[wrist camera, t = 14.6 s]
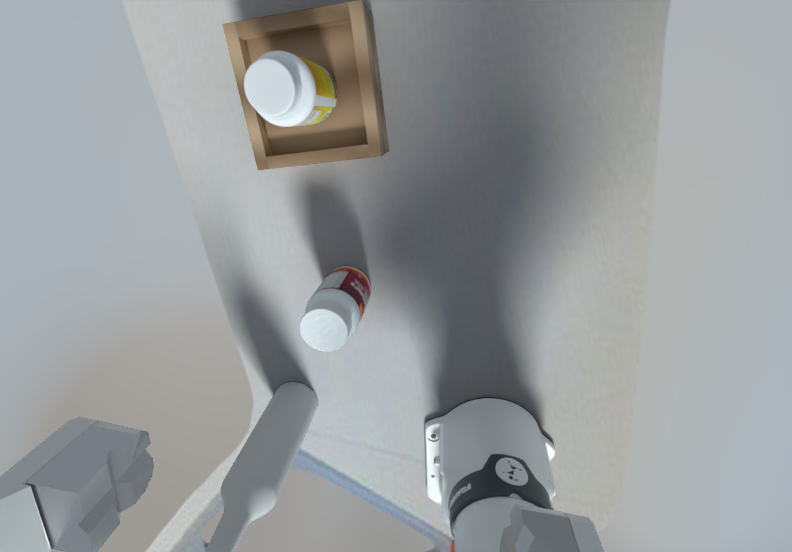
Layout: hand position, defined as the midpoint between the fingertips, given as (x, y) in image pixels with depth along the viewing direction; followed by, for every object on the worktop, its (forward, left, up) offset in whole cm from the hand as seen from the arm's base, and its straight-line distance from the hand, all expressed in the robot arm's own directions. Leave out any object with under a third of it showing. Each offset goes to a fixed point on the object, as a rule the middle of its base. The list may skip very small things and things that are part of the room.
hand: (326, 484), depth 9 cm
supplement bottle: (+8, +12, -35) cm, 38 cm away
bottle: (-34, +13, -39) cm, 54 cm away
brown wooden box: (+8, +12, -39) cm, 42 cm away
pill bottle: (-14, +7, -39) cm, 42 cm away
